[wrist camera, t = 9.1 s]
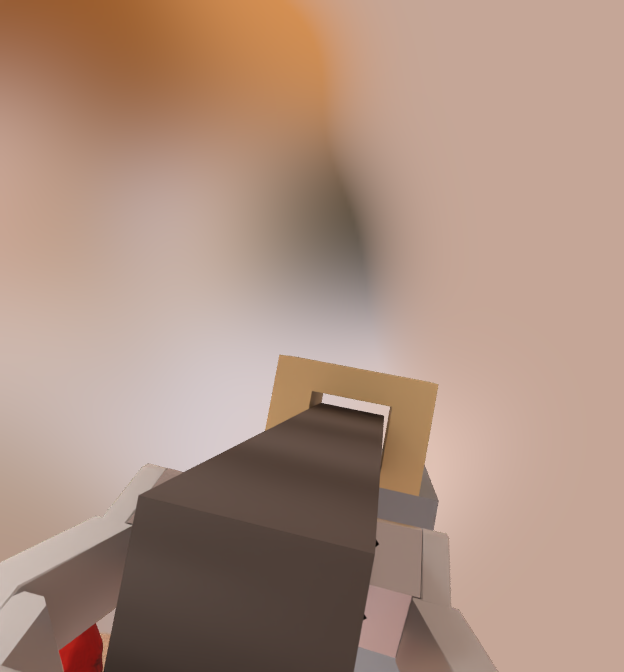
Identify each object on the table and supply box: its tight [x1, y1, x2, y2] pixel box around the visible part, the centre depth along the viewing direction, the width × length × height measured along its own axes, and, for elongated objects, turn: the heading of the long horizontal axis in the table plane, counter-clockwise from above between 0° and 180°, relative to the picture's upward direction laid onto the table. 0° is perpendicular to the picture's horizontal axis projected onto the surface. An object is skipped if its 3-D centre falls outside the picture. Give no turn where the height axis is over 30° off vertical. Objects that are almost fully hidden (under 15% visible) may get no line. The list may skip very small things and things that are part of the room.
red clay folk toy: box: [59, 623, 103, 672], centre depth 34 cm, size 8×7×15 cm
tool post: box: [265, 355, 438, 672], centre depth 30 cm, size 12×10×30 cm
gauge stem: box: [104, 403, 384, 672], centre depth 17 cm, size 20×4×3 cm, turn 171°
